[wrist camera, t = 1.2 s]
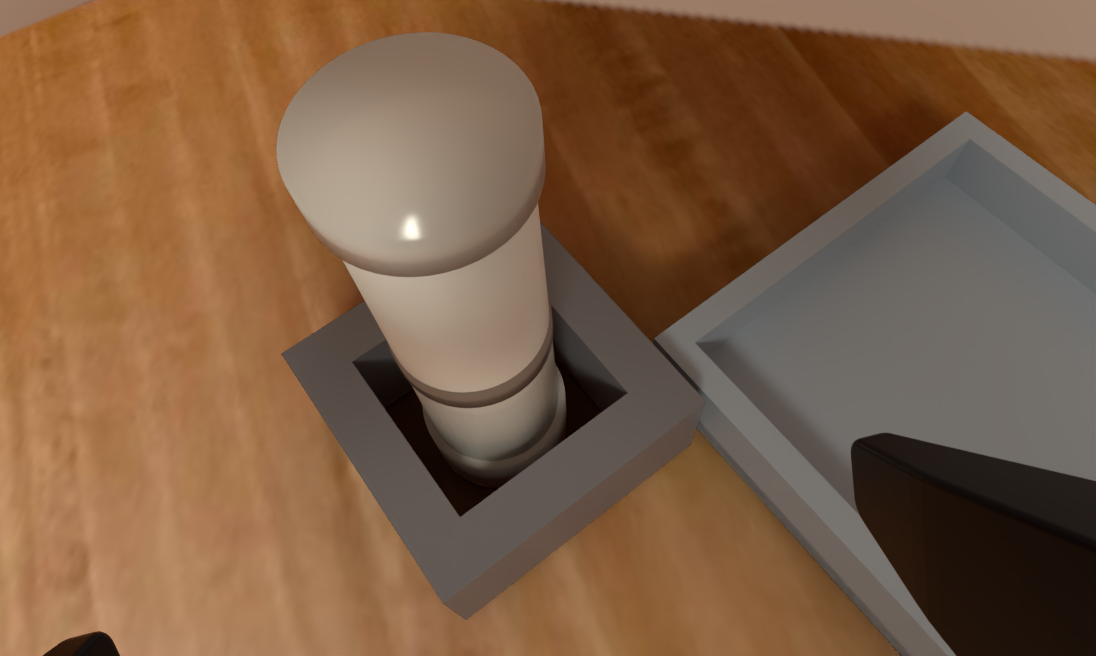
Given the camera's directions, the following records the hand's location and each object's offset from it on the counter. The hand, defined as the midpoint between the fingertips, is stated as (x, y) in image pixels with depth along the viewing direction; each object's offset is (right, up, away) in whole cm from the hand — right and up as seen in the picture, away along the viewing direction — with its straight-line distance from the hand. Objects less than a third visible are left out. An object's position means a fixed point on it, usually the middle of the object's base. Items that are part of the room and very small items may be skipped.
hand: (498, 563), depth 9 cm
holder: (-1, 0, +14) cm, 14 cm away
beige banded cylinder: (-1, 0, +14) cm, 14 cm away
